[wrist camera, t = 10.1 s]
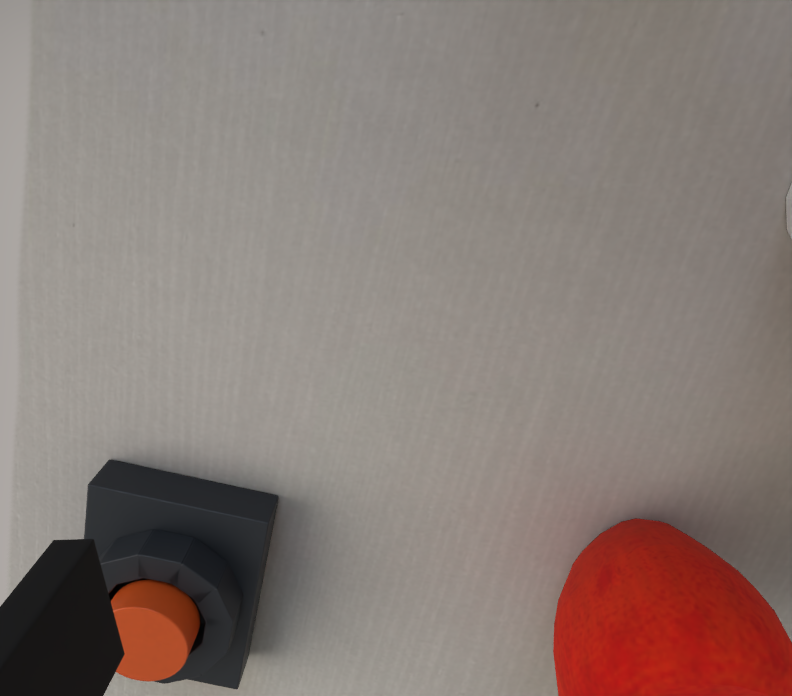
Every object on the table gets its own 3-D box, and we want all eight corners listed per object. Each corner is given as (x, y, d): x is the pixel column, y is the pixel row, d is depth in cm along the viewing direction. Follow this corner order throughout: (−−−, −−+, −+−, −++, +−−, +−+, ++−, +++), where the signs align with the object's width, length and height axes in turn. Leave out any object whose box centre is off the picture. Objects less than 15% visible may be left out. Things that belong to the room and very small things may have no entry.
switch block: (109, 458, 32) (67, 508, 28) (279, 495, 32) (259, 549, 29) (95, 623, 36) (56, 687, 32) (248, 655, 36) (227, 721, 32)
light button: (114, 570, 30) (96, 598, 28) (205, 589, 30) (193, 618, 28) (107, 640, 31) (89, 671, 30) (195, 658, 31) (182, 690, 30)
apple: (571, 451, 31) (640, 632, 21) (754, 503, 31) (907, 703, 21) (504, 603, 34) (536, 823, 24) (671, 647, 35) (771, 881, 24)
